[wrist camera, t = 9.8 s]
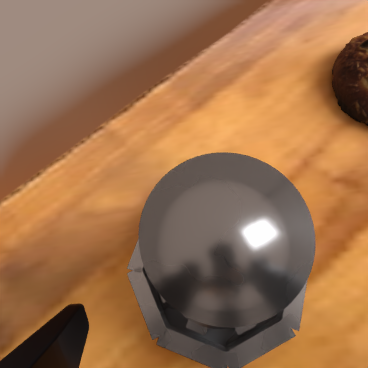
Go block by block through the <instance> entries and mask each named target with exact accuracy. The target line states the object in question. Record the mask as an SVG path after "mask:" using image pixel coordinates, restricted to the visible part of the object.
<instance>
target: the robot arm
mask: <svg viewBox="0 0 368 368" xmlns="http://www.w3.org/2000/svg"><path fill="white" fill-rule="evenodd" d="M88 331H89V322H88V318H87V315H86V312H85V309H84V306H83V305H82V304H70V305H68V306H66V307H65V308H64V309H63V310H62V311H60V312H59V313H58V314H57V315H56V316H54V317H53V318H52V319H51V320H49V321H48V322H47V323H46V324H45V325H43V326H42V327H41V328H40V329H39V330H37V331H36V332H35V333H34V334H32V335H31V336H30V337H29V338H28V339H26V340H25V341H24V342H23V343H21V344H20V345H19V346H18V347H17V348H15V349H14V350H13V351H12V352H11V353H9V354H8V355H7V356H6V357H4V358H3V359H2V360H1V361H0V368H79V365H80V361H81V357H82V353H83V350H84V346H85V342H86V338H87V335H88Z"/></svg>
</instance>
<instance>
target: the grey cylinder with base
mask: <svg viewBox="0 0 368 368" xmlns="http://www.w3.org/2000/svg"><path fill="white" fill-rule="evenodd" d="M139 248H140V255H141V259H142V262H143V265H144V268H145V271H146V273H147V275H148V277H149V279H150V281H151V282H152V284H153V286H154V287H155V289H156V290H157V291H158V292H159V294H160V296H161V298H162V301H163V303H165V302H168V303H169V304H170V305H171V306H172V307H173V308H175V309H176V310H178V311H179V312H180V313H181V314H182V315H183V316H184V317H186V318H187V319H188V322H187V325H186V328H188V329H191V330H193V331H195V332H197V333H200V334H202V335H204V336H205V335H206V332H207V329H208V328H212V329H228V328H235V330H236V332H237V334H238V335H240V334H241V333H243V332H245V331H247V330H249V329H251V328H253V327H255V326H257V325H256V324H257V323H260V322H262V321H265V320H267V319H269V318H271V317H273V316H275V315H276V314H278V313H279V312H281V311H282V310H283V309H285V308H286V307H287V306H288V305H289V304H290V303H291V302H292V301H293V300H294V299H295V298H296V297H297V295H298V294H299V293H300V291H301V290H302V288H303V287H304V285H305V283H306V281H307V279H308V277H309V274H310V272H311V269H312V265H313V261H314V255H315V232H314V226H313V222H312V218H311V215H310V212H309V210H308V207H307V205H306V203H305V201H304V199H303V198H302V196H301V194H300V193H299V192H298V190H297V189H296V188H295V186H294V185H293V184H292V183H291V182H290V181H289V180H288V179H287V178H286V177H285V176H284V175H283V174H282V173H280V172H279V171H278V170H276V169H275V168H273V167H272V166H270V165H268V164H267V163H265V162H263V161H260V160H258V159H256V158H253V157H250V156H246V155H242V154H237V153H211V154H205V155H201V156H197V157H195V158H192V159H189V160H187V161H185V162H183V163H181V164H179V165H178V166H176V167H175V168H173V169H172V170H171V171H169V172H168V173H167V174H166V175H165V176H164V177H163V178H162V179H161V180H160V181H159V182H158V183H157V184H156V186H155V187H154V189H153V190H152V192H151V193H150V195H149V197H148V199H147V201H146V203H145V206H144V208H143V211H142V215H141V219H140V224H139Z"/></svg>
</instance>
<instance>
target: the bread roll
mask: <svg viewBox="0 0 368 368" xmlns="http://www.w3.org/2000/svg"><path fill="white" fill-rule="evenodd" d="M332 74H333V81H332V85H333V89H334V91H335V94H336V98H337V99H338V105H339V106H340V107H341V110H342V111H344V112H345V113H347V114H348V115H349V116H350V117H352V118H353V119H355V120H356V121H358V122H360V121H362V122H364V123H365V124H366V125H367V126H368V32H367V33H365V34H363V35H360V36H357V37H354V38H352V39H351V41H350V42H349V43H348V44H346V46H345V48H344V49H343V50H342V51H341V53H340V54H339V56H338V57H337V59H336V61H335V63H334V66H333V70H332Z"/></svg>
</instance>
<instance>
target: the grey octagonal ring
mask: <svg viewBox="0 0 368 368" xmlns="http://www.w3.org/2000/svg"><path fill="white" fill-rule="evenodd" d="M127 269H130V270H133V271H131V272H129V273H127V275H128V278H129V280H130V283H131V285H132V288H133V291H134V293H135V296H136V298H137V301H138V304H139V306H140V309H141V311H142V314H143V317H144V319H145V322H146V325H147V327H148V330H149V332H150V335H151V338H152V340H154V339H155V338H157V337H159V338H158V341H157V344H156V345H159V346H161V347H164V348H166V349H168V350H171V351H173V352H175V353H178V354H180V355H183V356H185V357H187V358H190V359H192V360H195V361H197V362H199V363H202V364H204V365H206V366H209V367H211V368H227V365H228V367H229V368H241V367H243V366H245V365H246V364H248V363H250V362H252V361H253V360H255V359H257V358H258V357H260V356H262V355H264V354H265V353H267V352H269V351H270V350H272V349H274V348H276V347H277V346H279V345H281V344H283V343H284V342H286V341H288V340H289V339H291V338H293V337H295V336H296V335H295V334H294V332H293V330H292V329H295V330H298V331H299V328H300V322H301V316H302V309H303V303H304V297H305V291H306V284H307V281H306V283H305V285H304V287H303V288H302V290H301V291H300V293H299V294H298V295H297V297H296V298H295V299H294V300H293V301H292V302H291V303H290V304H289V305H288V306H287V307H286V308H285V309H283V310H282V311H281V312H279V313H278V314H276V315H275V316H273V317H271V318H269V319H267V320H265V321H262V322H260V323H257V324H256V325H257V326H255V327H253V328H251V329H249V330H247V331H245V332H243V333H241V334H240V335H238V334H237V332H236V330H235V328H228V329H212V328H208V329H207V332H206V335H205V336H204V335H202V334H200V333H197V332H195V331H193V330H191V329H188V328H186V325H187V322H188V319H187V318H186V317H184V316H183V315H182V314H181V313H180V312H179V311H178V310H176V309H175V308H173V307H172V306H171V305H170V304H169V303H168V302H165V303H163V301H162V298H161V296H160V294H159V292H158V291H157V290H156V289H155V287H154V286H153V284H152V282H151V281H150V279H149V277H148V275H147V273H146V271H145V268H144V265H143V262H142V259H141V255H140V248H139V239H138V241H137V244H136V246H135V249H134V252H133V254H132V257H131V259H130V262H129V264H128V267H127ZM291 328H292V329H291Z"/></svg>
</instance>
